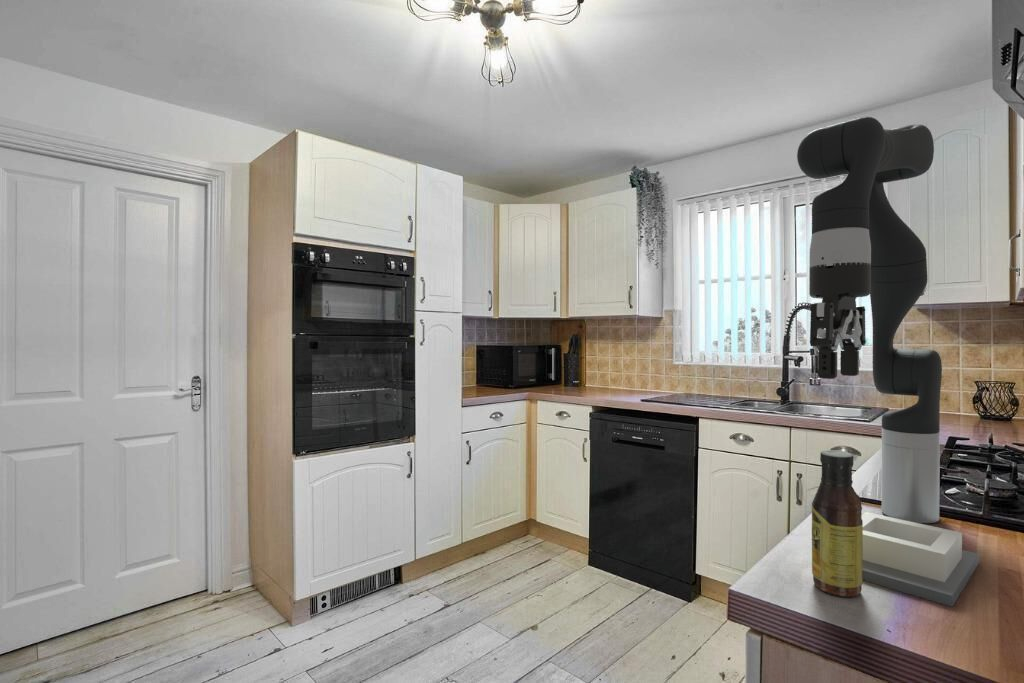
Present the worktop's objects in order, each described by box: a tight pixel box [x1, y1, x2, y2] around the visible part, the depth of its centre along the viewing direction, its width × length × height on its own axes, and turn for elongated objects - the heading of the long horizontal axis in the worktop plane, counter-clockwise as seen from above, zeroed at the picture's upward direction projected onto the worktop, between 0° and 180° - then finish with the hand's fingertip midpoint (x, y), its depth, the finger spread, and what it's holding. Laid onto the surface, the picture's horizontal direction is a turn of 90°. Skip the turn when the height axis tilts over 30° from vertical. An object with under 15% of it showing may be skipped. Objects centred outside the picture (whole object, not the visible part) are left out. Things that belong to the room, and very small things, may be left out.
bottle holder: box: [861, 511, 980, 607], centre depth 84 cm, size 20×16×6 cm
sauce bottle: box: [811, 449, 863, 598], centre depth 77 cm, size 7×6×20 cm
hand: (838, 377), depth 76 cm, fingers open, 8 cm apart
